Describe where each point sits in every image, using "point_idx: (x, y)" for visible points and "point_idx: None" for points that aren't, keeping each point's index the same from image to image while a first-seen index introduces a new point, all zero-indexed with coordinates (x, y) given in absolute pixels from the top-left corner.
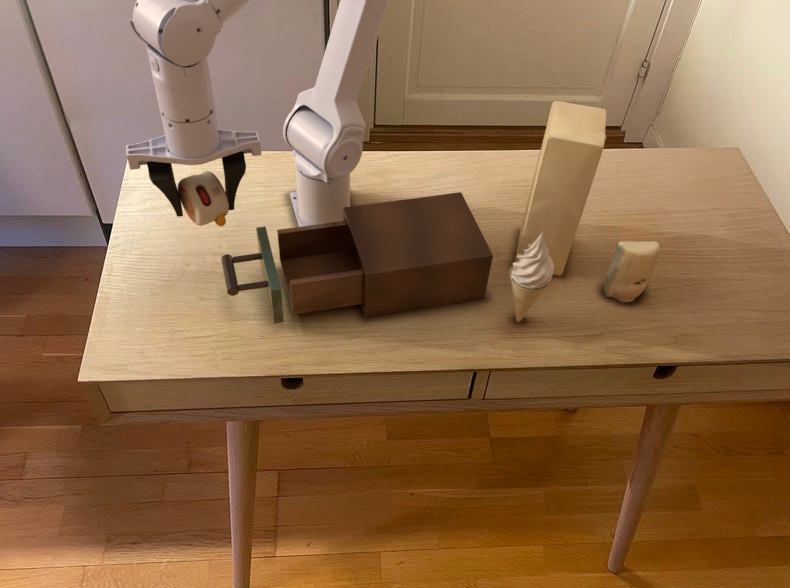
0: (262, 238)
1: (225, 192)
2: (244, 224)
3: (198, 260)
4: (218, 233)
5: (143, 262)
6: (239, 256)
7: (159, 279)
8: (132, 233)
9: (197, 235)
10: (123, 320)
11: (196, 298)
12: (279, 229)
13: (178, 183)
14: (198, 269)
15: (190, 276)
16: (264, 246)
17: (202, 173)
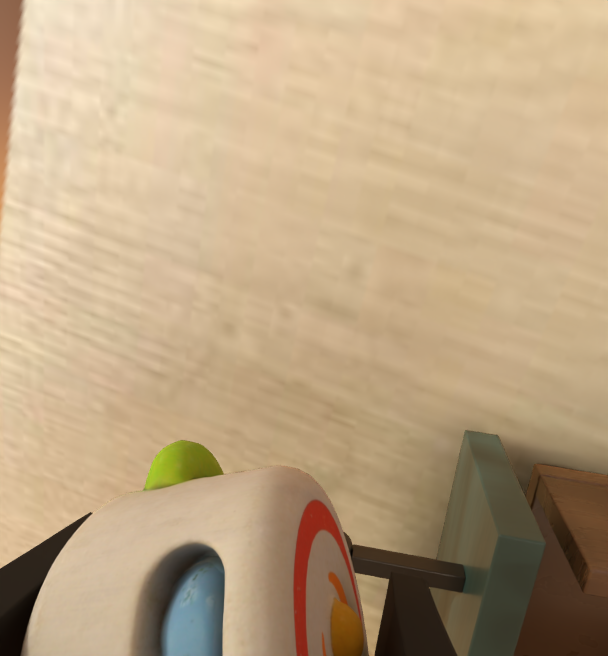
0: (499, 607)
1: (393, 610)
2: (485, 173)
3: (265, 317)
4: (368, 196)
5: (90, 265)
6: (378, 563)
7: (133, 360)
8: (58, 92)
9: (288, 182)
10: (31, 475)
11: (229, 472)
12: (603, 571)
13: (23, 644)
14: (257, 359)
15: (227, 380)
16: (487, 650)
17: (224, 650)
